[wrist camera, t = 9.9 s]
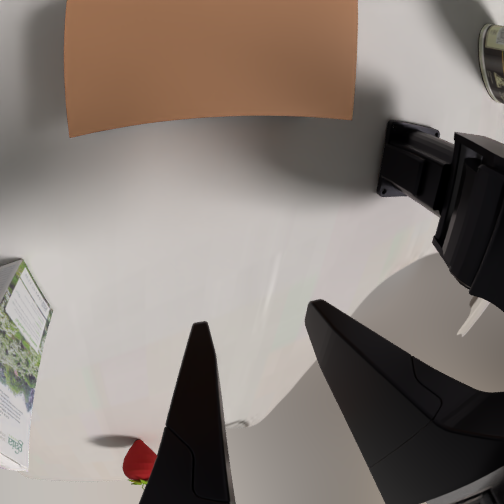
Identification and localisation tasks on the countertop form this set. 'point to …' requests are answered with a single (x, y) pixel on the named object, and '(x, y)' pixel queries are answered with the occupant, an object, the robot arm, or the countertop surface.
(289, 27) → the block
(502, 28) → the coffee can
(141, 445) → the strawberry
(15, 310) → the syrup box
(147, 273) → the countertop surface
